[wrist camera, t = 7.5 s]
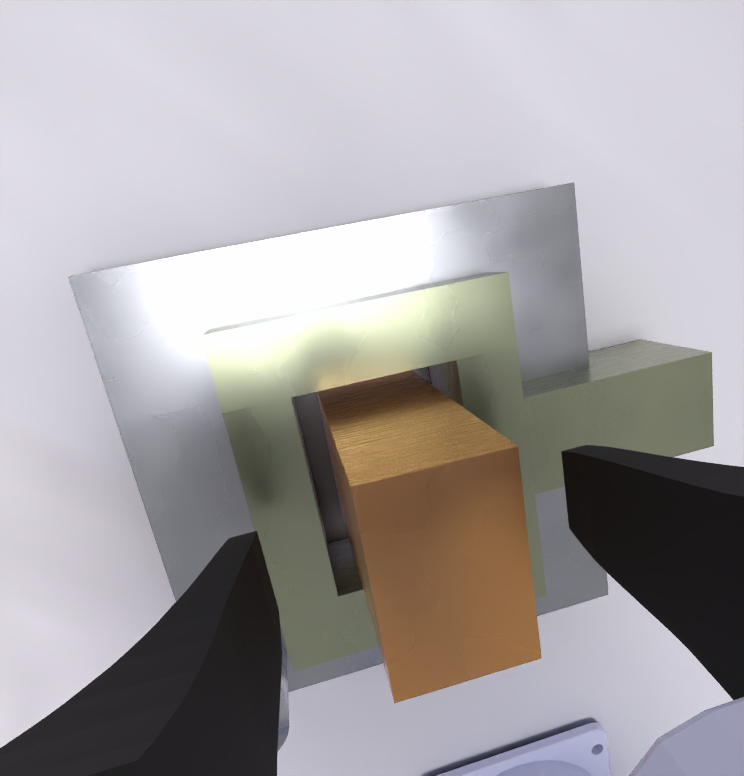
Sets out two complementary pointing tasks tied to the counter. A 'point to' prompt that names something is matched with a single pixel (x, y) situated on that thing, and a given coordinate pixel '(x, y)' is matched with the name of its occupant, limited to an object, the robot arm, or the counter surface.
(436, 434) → the wooden rectangular peg
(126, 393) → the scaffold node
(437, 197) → the counter surface
